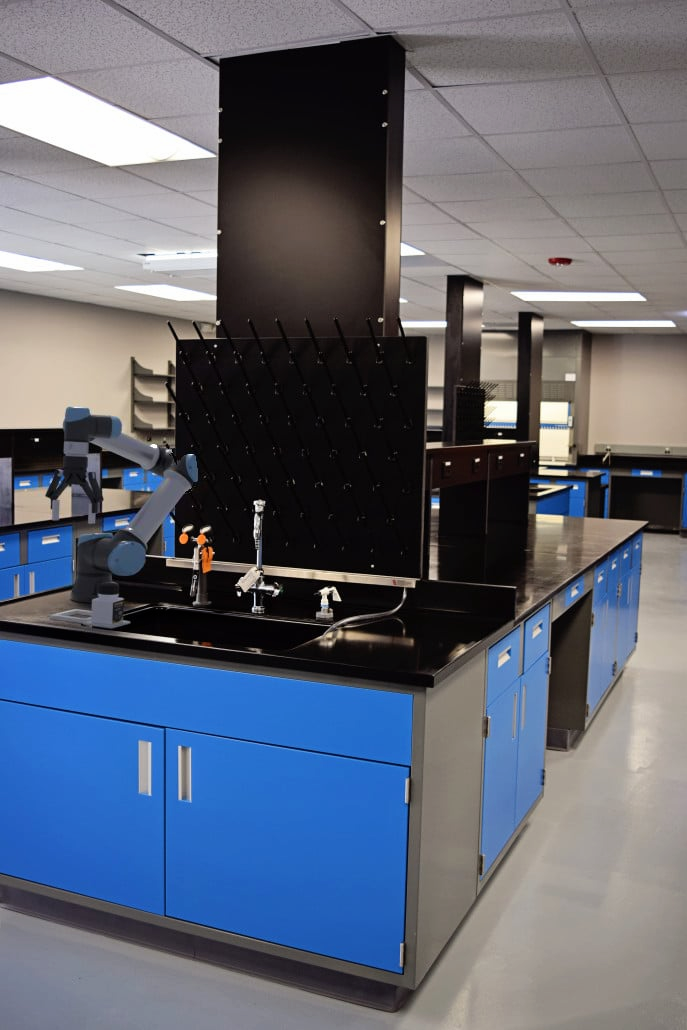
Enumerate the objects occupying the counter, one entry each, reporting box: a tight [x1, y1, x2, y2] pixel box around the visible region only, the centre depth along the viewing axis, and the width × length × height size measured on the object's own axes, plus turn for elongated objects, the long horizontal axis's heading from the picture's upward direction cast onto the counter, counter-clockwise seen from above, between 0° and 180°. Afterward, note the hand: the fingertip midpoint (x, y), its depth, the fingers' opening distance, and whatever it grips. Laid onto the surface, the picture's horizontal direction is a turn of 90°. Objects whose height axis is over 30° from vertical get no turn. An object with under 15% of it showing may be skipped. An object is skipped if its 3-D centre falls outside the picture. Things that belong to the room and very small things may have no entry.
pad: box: [82, 619, 131, 629], centre depth 285 cm, size 10×10×1 cm
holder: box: [49, 608, 92, 624], centre depth 292 cm, size 13×13×1 cm
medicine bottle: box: [90, 581, 125, 625], centre depth 285 cm, size 7×7×12 cm
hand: (73, 521), depth 302 cm, fingers open, 13 cm apart
